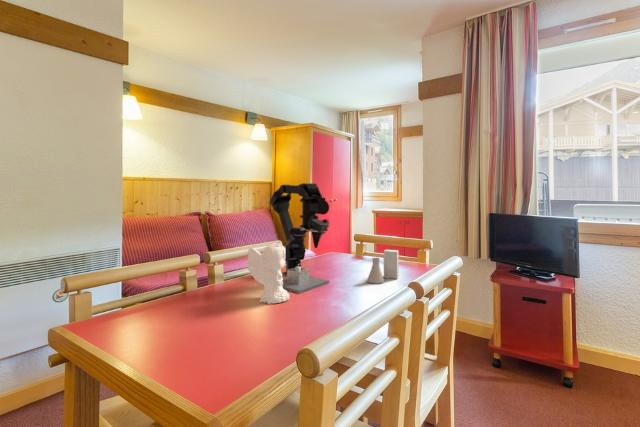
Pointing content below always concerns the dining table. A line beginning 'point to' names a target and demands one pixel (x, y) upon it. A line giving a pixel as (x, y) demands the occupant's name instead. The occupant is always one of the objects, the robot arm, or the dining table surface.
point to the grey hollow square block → (298, 275)
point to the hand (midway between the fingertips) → (309, 249)
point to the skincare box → (391, 264)
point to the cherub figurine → (269, 272)
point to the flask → (375, 272)
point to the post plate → (305, 286)
